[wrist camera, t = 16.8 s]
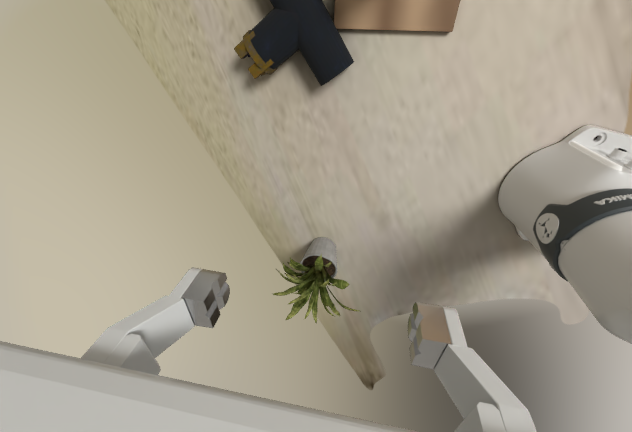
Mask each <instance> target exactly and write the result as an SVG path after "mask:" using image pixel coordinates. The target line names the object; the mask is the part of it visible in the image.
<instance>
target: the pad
mask: <svg viewBox="0 0 632 432" xmlns="http://www.w3.org/2000/svg"><path fill="white" fill-rule="evenodd" d="M459 3H460V0H335V8H334V25H335V27H336V29H372V30H410V31H447V32H452V31H453V27H454V23H455V19H456V15H457V11H458V7H459Z"/></svg>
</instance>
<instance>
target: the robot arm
mask: <svg viewBox="0 0 632 432" xmlns="http://www.w3.org/2000/svg"><path fill="white" fill-rule="evenodd" d="M596 136H598V137H597V138H596V139H595V140H593V139H594V138H595V137H596ZM498 202H499V207H500V209H501V211H502V213H503V214H504V215H505V217H507V218H508V219H509V220H510V221H511V222H512V223H513V224H514V225H515V227H516V230H517V233H518V235H519V236H520V237H521V238H522V239H523V240H527V241H530V242H531V244H532V245H533V246H534V247H535V248H536V249H537V250H538V251H539V252H540V253H541V254H542V255H543V256H544V257H545V258H546V259H547V261H548V262H549V265H550V266H551V267H552V268H553V269H554V270H555V271H556V272H557V273H558V274H559V275H560V276H561V277H562V278H563V279H565V280H566V281H568V282H569V283H570V284H571V286H572V287H573V288H574V290H575V291H576V292H577V294H578V295H579V296H580V298H581V299H582V300H583V302H584V303H585V304H586V306H587V307H588V308H589V310H590V311H591V313H592V314H593V315H594V317H595V318H596V319H597V321H598V322H599V323H600V324H601V325H602V326H603V327H604V328H605V329H606V330H607V331H609V332H610V333H611V334H613V335H615V336H617V337H619V338H620V339H622V340H624V341H626V342H629V343H631V344H632V136H631V135H628V134H624V133H620V132H617V131H613V130H609V129H606V128H602V127H598V126H595V125H586V126H583V127H581V128H579V129H578V130H576V131H575V132H573V133H572V134H570V135H569V136H568V137H566V138H565V139H564V140H562V141H561V142H559V143H556V144H554V145H551V146H549V147H546V148H544V149H541V150H539V151H537V152H535V153H533V154H532V155H530V156H528V157H527V158H525V159H524V160H522V161H521V162H520V163H519V164H517V165H516V166H515V167H514V168H513V169H512V170H511V171H510V172H509V174H508V175H507V176H506V178H505V179H504V181H503V183H502V185H501V187H500V191H499V196H498ZM226 279H227V277H226V274H225V273H221V272H216V271H210V270H204V269H199V268H191V269H189V270H188V272H187V273H186V274H185V275H184V277H183V278H182V279H181V281H180V282H179V283H178V285H177V286H176V287H175V288H174V290H173V291H172V292H171V294H170V295H169V296H164V297H162V298H160V299H159V300H157V301H155V302H153V303H151V304H150V305H148V306H146V307H144V308H142V309H141V310H139V311H137V312H135V313H134V314H132V315H130V316H129V317H126V318H124V319H123V320H121V321H119V322H117V323H116V324H114V325H112V326H110V327H108V328H107V329H106V330H105V332H104V333H103V334H102V335H101V336H100V337H99V338H98V339H97V341H96V342H95V343H94V344H93V345H92V346H91V347H90V349H89V350H88V351H87V352H86V353H85V354H84V355H83V356H82V357H81V359H80V358H76V357H71V356H66V355H62V354H57V353H52V352H48V351H43V350H38V349H34V348H29V347H25V346H20V345H16V344H11V343H7V342H2V341H0V432H418V431H413V430H409V429H404V428H400V427H395V426H390V425H386V424H381V423H376V422H372V421H367V420H362V419H358V418H353V417H348V416H344V415H339V414H335V413H330V412H326V411H321V410H316V409H312V408H307V407H303V406H298V405H293V404H288V403H284V402H279V401H275V400H270V399H266V398H261V397H256V396H252V395H247V394H243V393H238V392H233V391H228V390H224V389H219V388H215V387H210V386H205V385H201V384H196V383H192V382H187V381H182V380H177V379H173V378H168V377H164V376H159V375H158V374H159V372H160V366H159V364H158V363H157V361H156V360H155V358H156V357H157V356H158V355H159V354H161V353H162V352H163V351H165V350H166V349H167V348H168V347H169V346H171V345H172V344H173V343H174V342H176V341H177V340H178V339H179V338H181V337H182V336H183V335H185V334H186V333H187V332H188V331H190V330H191V329H192V328H193V327H194V325H196V326H203V327H209V328H213V327H214V325H215V323H216V322H217V320H218V318H219V316H220V311H219V310H220V309H221V308H223V307H224V306H225V305H226V303H227V301H228V298H229V294H230V289H229V285H228V284H227V283H226V282H225V281H226ZM408 338H409V339H410V340H411V342H412V343H411V346H410V357H411V365H415V366H419V367H424V368H429V369H434V372H435V374H436V375H437V377H438V378H439V380H440V382H441V383H442V385H443V386H444V388H445V389H446V391H447V393H448V394H449V396H450V397H451V399H452V400H453V402H454V404H455V405H456V407H457V408H458V410H459V411H460V413H461V415H462V416H463V418H464V421H463V422H462V423H461V424H460V425H459V426H458V428H457V429H456V430H455V431H454V432H537V431H536V428H535V426H534V423H533V421H532V418H531V416H530V413H529V411H528V410H527V408H526V407H525V406H524V405H523V404H522V403H521V402H520V401H519V400H518V399H517V397H516V396H515V395H514V394H513V393H512V392H511V391H510V390H509V389H508V388H507V386H506V385H504V383H503V382H502V381H501V380H500V379H499V378H498V377H497V375H496V374H495V373H494V372H493V371H492V370H491V369H490V368H489V367H488V366H487V364H486V363H485V362H484V361H483V360H482V359H481V358H480V357H479V356H478V354H477V353H476V352H475V351H474V350H473V349H472V348H468V347H467V343H466V340H465V336H464V333H463V329H462V326H461V322H460V319H459V315H458V312H457V310H456V309H455V308H451V307H444V306H439V305H432V304H425V303H418V302H415V303H414V306H413V313H412V314H410V317H409V321H408Z"/></svg>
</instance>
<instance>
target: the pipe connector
mask: <svg viewBox="0 0 632 432" xmlns="http://www.w3.org/2000/svg"><path fill="white" fill-rule="evenodd" d="M270 1H271V3H272V4H273V6H274V9H273V10H272V11H271V12H270V13H269V14H268V15H267V16H266V17H265V18H264V19H263V20H262V21H260V22H259V23H258V24H257V25H256V26H255V27H254V28H253V29H252V30H249V31H248V32H247V33H246V34H245V35H244V36H243V40H242V41H241V42H240V43H239V44H238V45H237V46H236V47H235V48H234V50H235V51H236V53H237V54H238V55H239V57H240V58H241V59H243V58H245V57H247V56H248V57H252V59H253V60H254V62H255V63H254V64H253V65H252V66H251V67H250V68H248V70H249V71H250V73H251V74H252V76H253V77H254V79H255V78H257V77H259V76H260V75H261V76H262V75H264V74H265V73H267V74H272V73H273V72H274V71H275V70H276V69H277V67H278V66H279V65H281V64H282V63H283V62H284V61H285V60H287V59H288V58H289V57H290V56H292V55H293V54H294V53H295V52H296V51H298V50H300V51H301V53H302V55H303V56H304V58H305V60H306V62H307V63H308V65H309V67H310V68H311V70H312V72H313V73H314V75H315V77H316V78H317V80H318V82H319V83H320V85H321V86H322V85H324V84H325V83H327V82H328V81H330V80H331V79H333V78H334V77H335V76H337V75H338V74H340V73H341V72H342V71H344V70H345V69H346V68H347V67H349V66H350V65H351V64H352V63H353V62H354V61H353V59H352V57H351V55H350V53H349V51H348V50H347V48H346V46H345V44H344V42H343V40H342V38H341V36H340V34H339V32H338V30H337V29H336V27H335V25H334V23H333V21H332V19H331V17H330V15H329V13H328V11H327V9H326V8H325V6H324V4H323V2H322V0H270Z"/></svg>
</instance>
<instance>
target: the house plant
mask: <svg viewBox="0 0 632 432" xmlns="http://www.w3.org/2000/svg"><path fill="white" fill-rule="evenodd" d="M287 262H288V261H287ZM288 263H289V262H288ZM289 265H290V266H291V267H292V268H294V269H296V270H299V271H302V273H296V272H294V271H293V270H291V269H290V268H288V267H287V266H285V265H284V263H283V268H284V270H285V272H286V273H287V274H286V273H285V274H286V276H287V277H288V278H289V279H288V278H286V277H284V276H283V275H282V274H281V273H280V274H281V275H282V277H283V278H285V279H286V280H288V281H290V282H292V283H295V284H299V285H297V286H294V287H292V288H289V289H288V290H286V291H284V292H279V293H274V295H279V296H282V295H287V294H290V293H293V292H295V291H297V290H299V291H298V293H296V294H300V295H301V296H299V297H298V298H297V299H295V300H293V301H291V302H290V303H289V304H291V303H294V305H293V307H292V310H291V313H290V314H289V315H288V316H287V318H286V320H288V319H290V318H292V317H293V316H294V315H296V314H297V313H298V311H299V310H300V309H301V308H302V307H303V306H304V305H305V303H306V302H307V301H308V300H309V297H310V294H311V292H312V291H313V292H312V295H311V298H310V301H309V306H308V311H307V313H306V316H305V318H306V317H307V316H308V315H309V313H310V311H311V308H312V313H313V317H314V320H315V322H317V317H316V315H317V301H318V294H319V290H320V296H321V301H322V303H323V305H324V307H325V309H326V311H327V312H328V313H329V314H331V313H330V312H329V311H328V309H327V308H326V306H329V307H330V308H331V310H332V311H333V312H334V313H335V314H336V315H338V316H339V315H340V314H339V312H338V311H337V310H336V308H335V306H334V304H333V302H332V301H331V299H330V297H329V294H328V291H327V289H326V285H327V284H328V285H331V284H330V283H332V286H334V285H335V286H336V287H338V288H340V289H345V288H346V287H347V286H348V285H349V284H348V283H347V282H346V281H344V280H339V279H334V277H335V276H336V274H337V258H336V245H335V243H334V242H333V241H332V240H330V239H328V238H325V237H319V238H316V239H314V240H313V241H312V243H311V245H310V246H309V248H308V250H307V252H306V253H305V255H304V257H303V259H302V260H301V262H300V263H297V262H295V261H293V260H292V259H291V258H290V263H289ZM288 274H289V275H288ZM290 275H292V276H294V277H295V278H296V279H295V278H293V277H291V276H290ZM298 276H301V277H298ZM329 282H330V283H329ZM327 287H328V286H327ZM328 289H329V288H328ZM329 291H330V290H329ZM330 292H331V291H330ZM331 294H332V293H331ZM332 295H333V294H332ZM333 297H334V295H333ZM334 298H335V297H334ZM335 299H336V298H335ZM336 301H337V302H338V303H339V304H340V305H341V306H342V307H343V308H345V309H348V310H352V311H359V310H355V309H351V308H348V307H346V306H344V305H342V304H341V303H340V302H339V301H338V300H337V299H336ZM331 315H332V314H331ZM332 316H334V315H332Z"/></svg>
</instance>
